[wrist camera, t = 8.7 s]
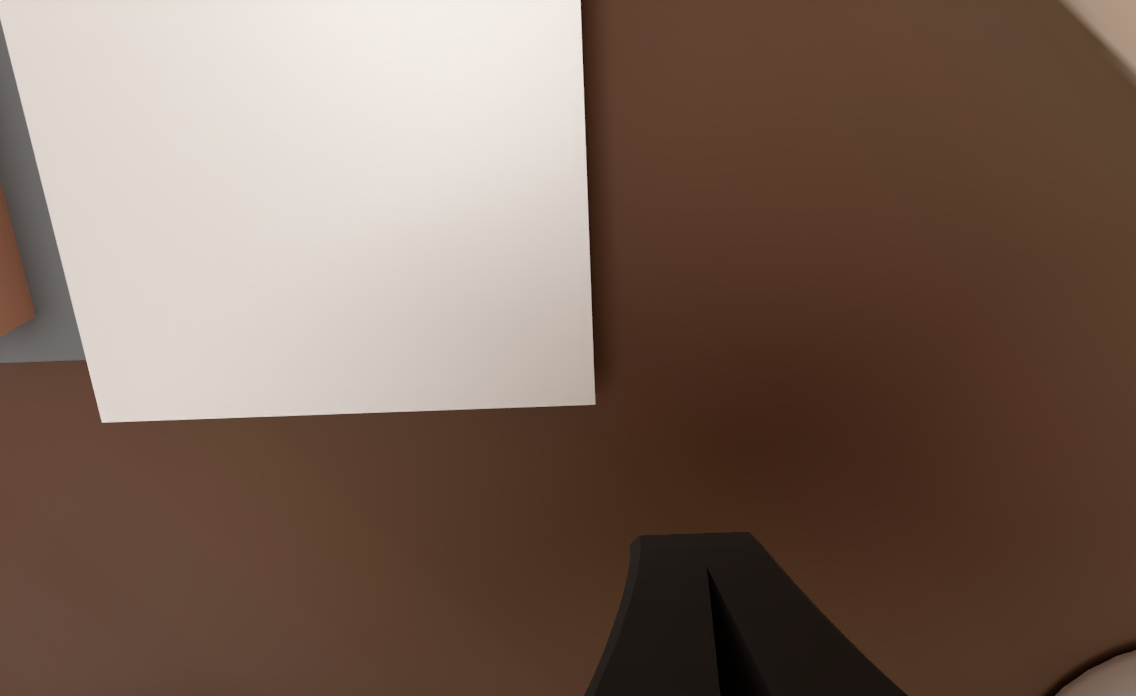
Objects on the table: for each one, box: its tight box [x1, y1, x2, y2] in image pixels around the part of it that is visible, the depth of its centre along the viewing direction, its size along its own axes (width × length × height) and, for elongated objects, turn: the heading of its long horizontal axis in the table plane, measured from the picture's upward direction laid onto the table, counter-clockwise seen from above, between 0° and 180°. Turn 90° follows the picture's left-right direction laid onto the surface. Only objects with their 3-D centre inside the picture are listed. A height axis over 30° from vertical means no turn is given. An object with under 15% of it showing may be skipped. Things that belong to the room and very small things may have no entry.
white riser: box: [0, 0, 595, 423], centre depth 17 cm, size 10×10×2 cm
